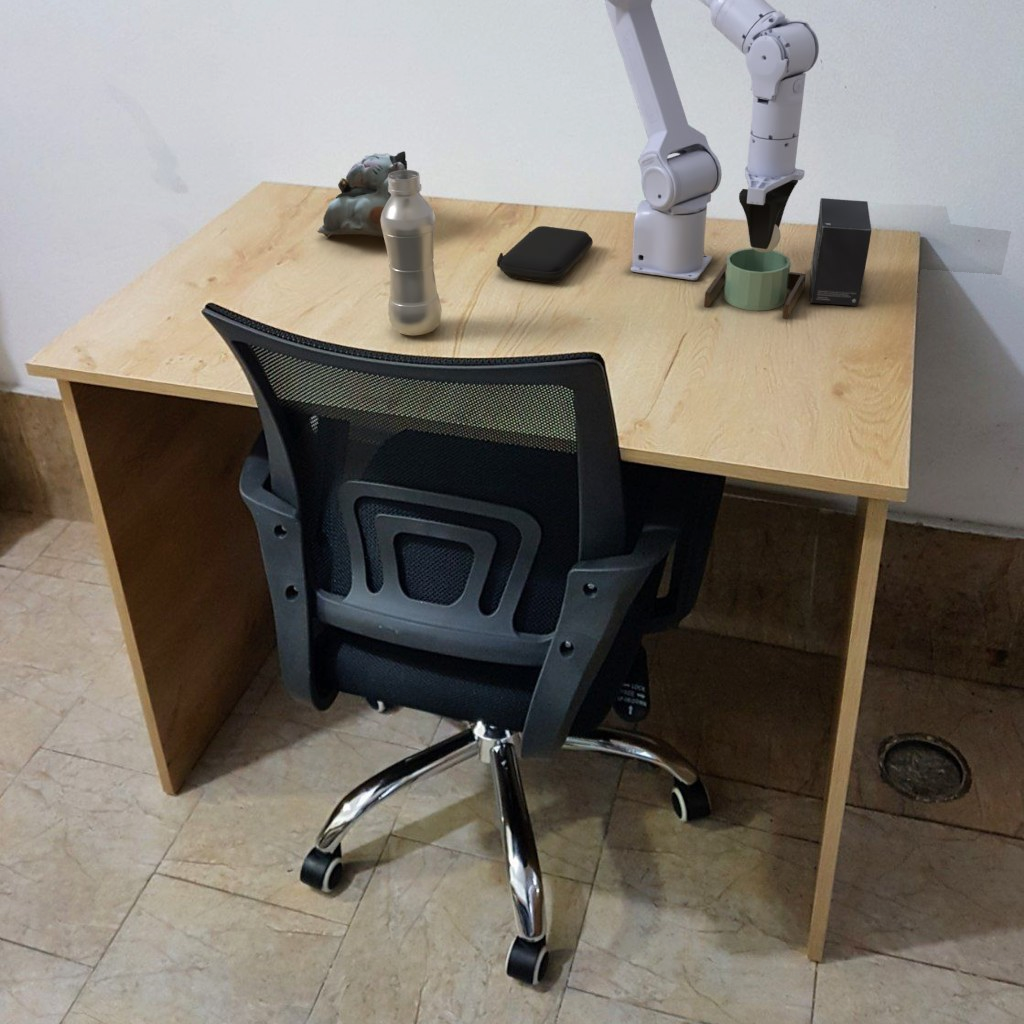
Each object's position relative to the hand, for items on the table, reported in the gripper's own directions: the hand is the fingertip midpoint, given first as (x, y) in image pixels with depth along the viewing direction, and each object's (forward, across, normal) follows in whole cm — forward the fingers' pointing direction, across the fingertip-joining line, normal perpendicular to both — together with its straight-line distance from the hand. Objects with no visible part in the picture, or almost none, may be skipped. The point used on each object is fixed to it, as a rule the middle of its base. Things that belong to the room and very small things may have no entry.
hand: (763, 241), depth 143 cm
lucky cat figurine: (+8, +2, +60) cm, 61 cm away
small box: (+8, +6, -9) cm, 14 cm away
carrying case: (+8, +2, +31) cm, 32 cm away
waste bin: (+8, 0, 0) cm, 8 cm away
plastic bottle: (+8, -24, +38) cm, 45 cm away
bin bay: (+8, +1, 0) cm, 8 cm away
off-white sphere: (-1, 0, 0) cm, 1 cm away
